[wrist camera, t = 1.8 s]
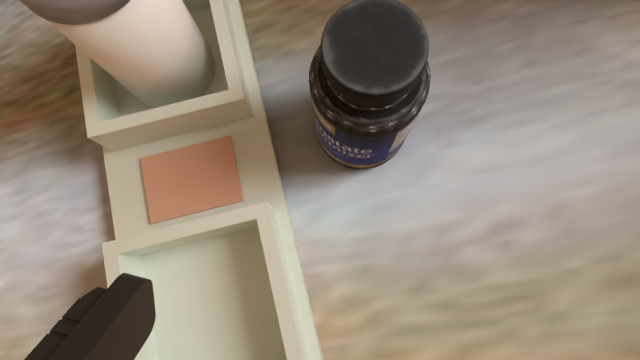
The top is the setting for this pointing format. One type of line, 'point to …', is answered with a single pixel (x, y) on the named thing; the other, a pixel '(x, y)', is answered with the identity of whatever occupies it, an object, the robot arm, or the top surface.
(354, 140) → the pill bottle
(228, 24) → the cream compartment organizer
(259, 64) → the top surface
